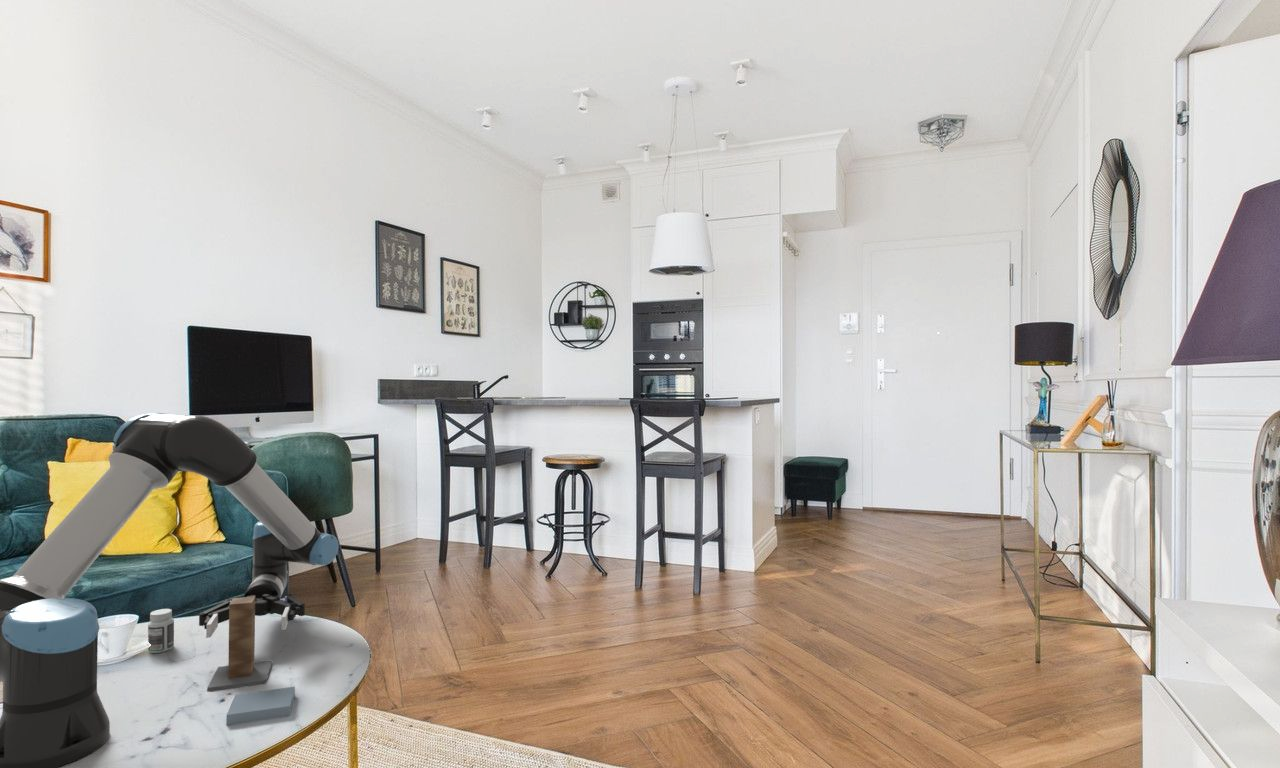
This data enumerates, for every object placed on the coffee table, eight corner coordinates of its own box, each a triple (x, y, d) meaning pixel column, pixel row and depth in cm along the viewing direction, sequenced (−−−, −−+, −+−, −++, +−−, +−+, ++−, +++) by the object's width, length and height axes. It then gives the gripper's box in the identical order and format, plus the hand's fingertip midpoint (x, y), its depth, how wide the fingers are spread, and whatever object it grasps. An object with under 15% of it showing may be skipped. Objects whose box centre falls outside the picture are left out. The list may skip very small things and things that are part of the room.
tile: (235, 706, 126) (226, 727, 118) (235, 694, 126) (226, 715, 118) (294, 697, 130) (289, 717, 122) (294, 686, 130) (290, 705, 122)
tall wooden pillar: (228, 678, 135) (229, 604, 135) (232, 670, 138) (233, 598, 138) (250, 675, 136) (252, 602, 136) (254, 667, 140) (255, 596, 140)
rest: (207, 690, 131) (207, 687, 131) (218, 669, 140) (218, 666, 140) (265, 683, 135) (265, 680, 135) (272, 663, 144) (272, 660, 144)
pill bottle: (169, 643, 153) (170, 606, 153) (176, 648, 150) (177, 611, 150) (144, 649, 149) (145, 611, 149) (151, 655, 146) (152, 617, 146)
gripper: (321, 605, 163) (313, 637, 144) (201, 616, 154) (175, 653, 135) (321, 574, 163) (313, 602, 144) (202, 584, 154) (175, 615, 135)
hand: (246, 627), depth 139 cm, fingers open, 13 cm apart
